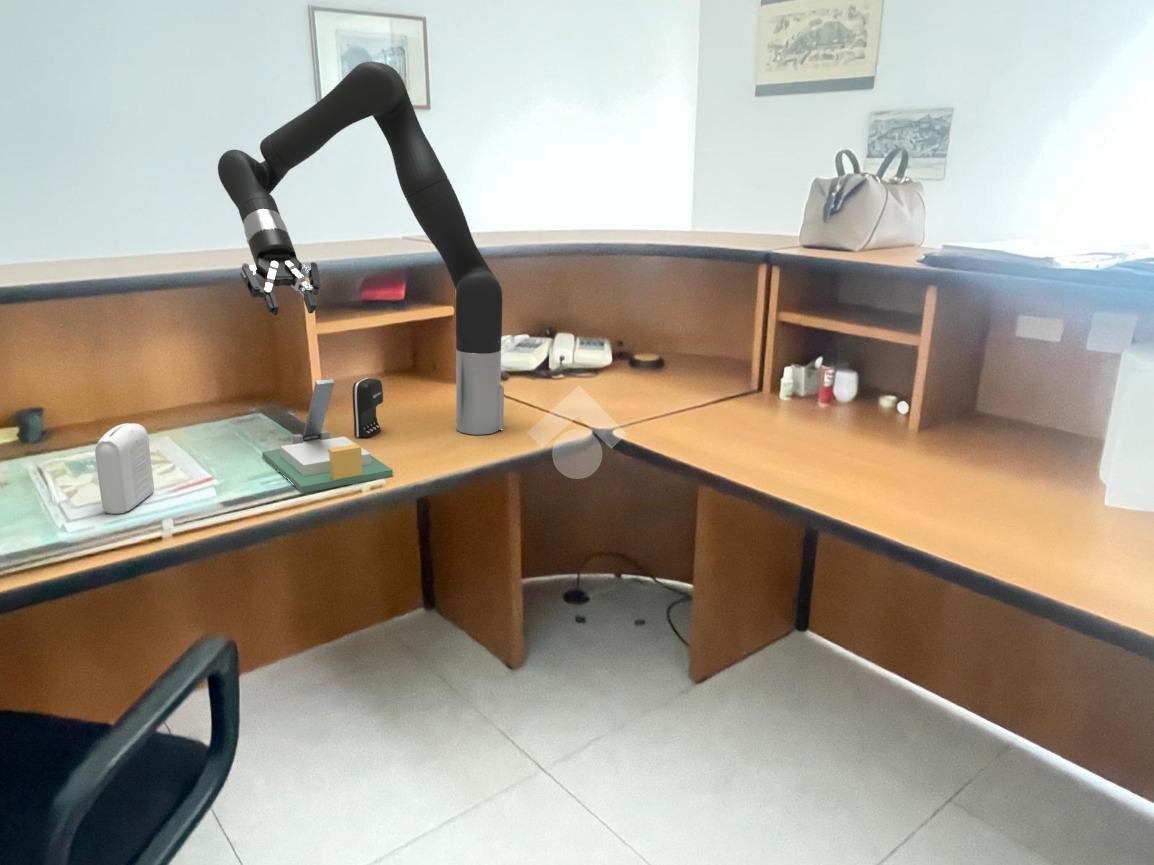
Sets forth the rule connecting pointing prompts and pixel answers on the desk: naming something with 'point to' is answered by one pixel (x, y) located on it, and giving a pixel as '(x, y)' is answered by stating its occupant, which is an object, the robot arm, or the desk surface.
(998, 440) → the desk surface
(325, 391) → the gray flat bar
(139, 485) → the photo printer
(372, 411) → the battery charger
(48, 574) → the desk surface
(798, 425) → the desk surface
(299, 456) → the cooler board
